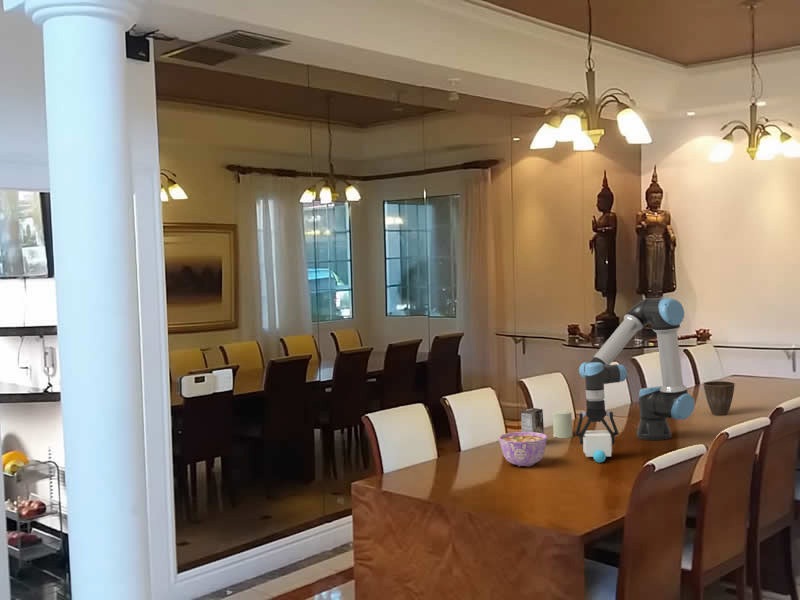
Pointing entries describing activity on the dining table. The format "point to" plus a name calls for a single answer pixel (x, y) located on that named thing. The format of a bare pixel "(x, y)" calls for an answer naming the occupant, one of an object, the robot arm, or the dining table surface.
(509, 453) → the bowl of food
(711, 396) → the plant pot
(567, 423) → the can
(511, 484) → the dining table surface
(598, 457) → the ball
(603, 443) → the white rounded cube
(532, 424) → the coffee box
